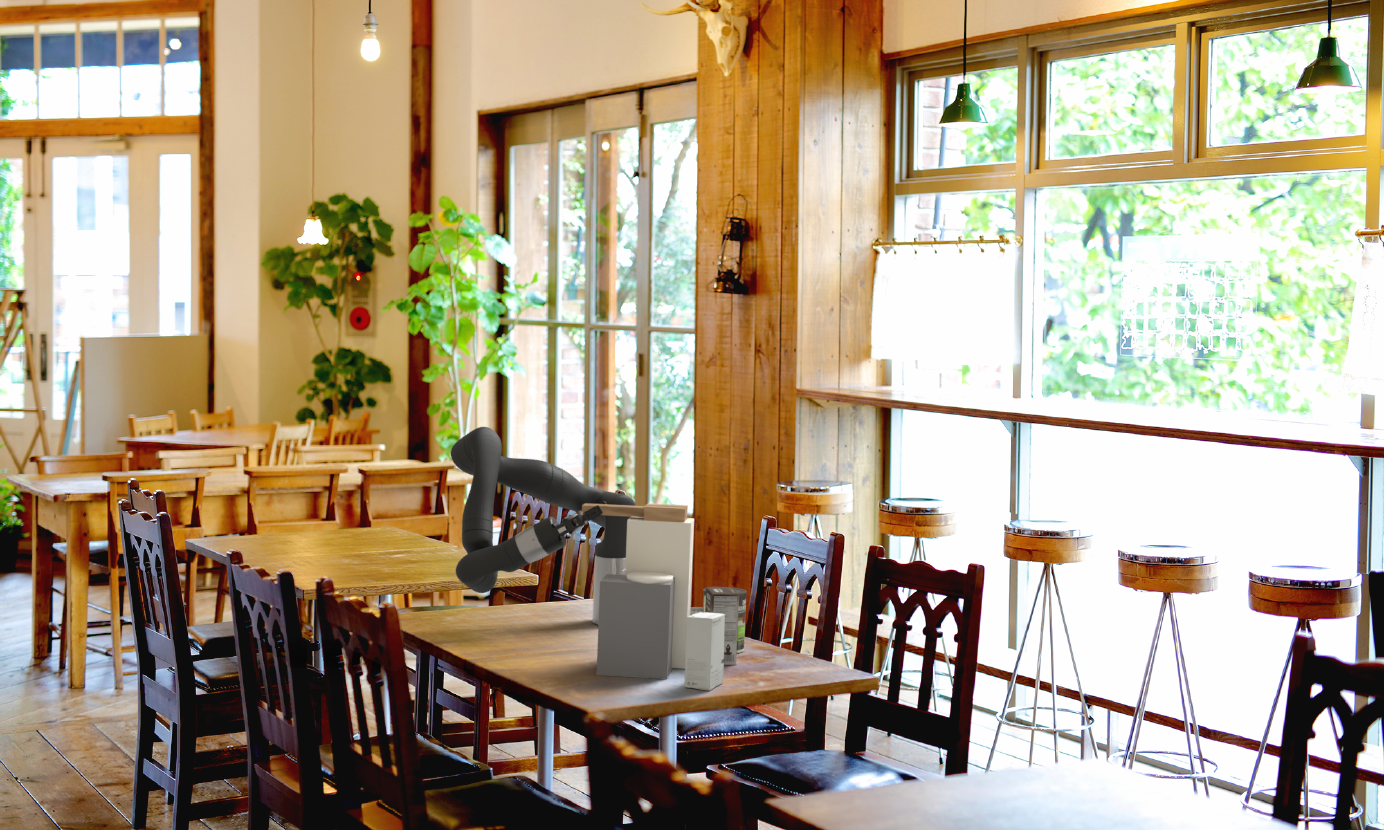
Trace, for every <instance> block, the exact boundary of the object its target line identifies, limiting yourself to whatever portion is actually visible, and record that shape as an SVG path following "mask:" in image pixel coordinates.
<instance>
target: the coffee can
mask: <svg viewBox="0 0 1384 830" xmlns="http://www.w3.org/2000/svg"><path fill="white" fill-rule="evenodd" d="M733 588H734V590H735V591H736V592H737V593H738V594H739V611H738V632H737V654H741V653H743V652H744V651H745V636H746V635H745V633H746V632H745V631H746V612H747V611H746V609H747V594H748V591H747V590H746V589H744V588H739V587H733ZM702 593H703V599H702V605H703V606H702V607H703V612H705V603H706V587H705V588H703V590H702Z"/></svg>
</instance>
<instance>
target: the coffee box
mask: <svg viewBox="0 0 1384 830" xmlns="http://www.w3.org/2000/svg"><path fill="white" fill-rule="evenodd" d="M705 588H706V603H705V612H707V613H720V614H725V626H724V666H736V665H737V655H738V653H737V632H738V611H739V594H738V593H737V592H736V591H735V590H734V588H735V587H734V588H733V587H732V586H710V587H709V586H707V587H705Z"/></svg>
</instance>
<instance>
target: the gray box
mask: <svg viewBox="0 0 1384 830" xmlns="http://www.w3.org/2000/svg"><path fill="white" fill-rule="evenodd" d="M674 589H675V577H673V575H671V574H667V573H661V572H631V573H628V574H627V575H617V574H606V575H605V576H604V578H603V579H602V580H601V581H600V597H599V623H598V624H597V626H598V627H597V629H598V630H597V654H596V655H597V659H596V676H608V677H610V676H611V677H622V678H623V677H627V678H642V679H660V680H661V679H662V680H667V679H668V677H669V676H670V673H671V670H672V668H671V665H672V640H673V615H674Z"/></svg>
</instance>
